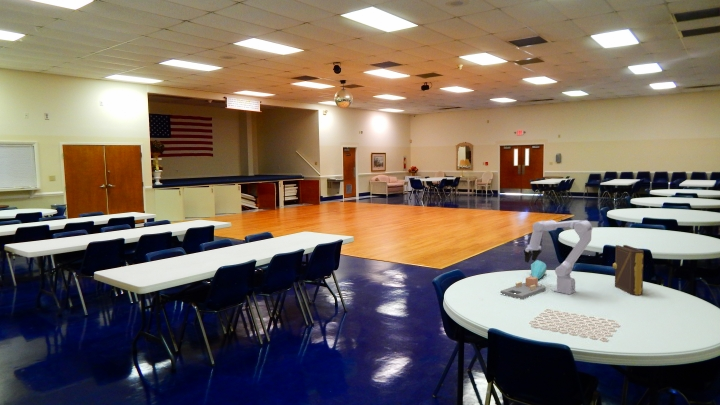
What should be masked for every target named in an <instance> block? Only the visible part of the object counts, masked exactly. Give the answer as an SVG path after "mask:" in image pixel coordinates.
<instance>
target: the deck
mask: <svg viewBox="0 0 720 405" xmlns="http://www.w3.org/2000/svg"><path fill="white" fill-rule="evenodd" d="M546 290H547V287H546V286H541V285H538V286H537V287H536V285H531V286H530V287H527V286H526V282H523V281H518V282H515V285H514V286H511V287H508V288H504V289H502V290H500V293H502V294H505V295H504V296H506V295H509V296H508V297H510V296H512V297H511V298H514V297H516V298H515V299H518V298H520V299H519V300H524V298H525V299H527V298H530V297H532V295H533V296H535V295H537V294H541V293H543V292H545V291H546ZM514 293H516V294H514ZM529 296H530V297H529ZM526 297H527V298H526Z"/></svg>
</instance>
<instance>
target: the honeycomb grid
mask: <svg viewBox="0 0 720 405" xmlns="http://www.w3.org/2000/svg"><path fill="white" fill-rule="evenodd" d="M533 319H534V320H529V324H530V327H532V328H534V329H540V330H544V331H545V330H546V331H550V332H553V333H554V332H555V333H556V332H559V333H561V334H569V335H571V336H579V337H581V338H589V339H591V340H594V341H595V340H599V341H601V342H604V343H606V342H607V343H608V342H609V341H610V337H613V335H614V334H613V332H615V333H616V332H617V328H620V326H621V323H619V322H618V321H616V320H614V319H606V318H604V317H596V316H591V315H590V316H588V315H585V314H578V313H570V312H568V311H560V310H558V309H557V310H553V309H552V308H545V309H544V312H540V313H539V316H536V315H535V317H533ZM607 337H609V338H607Z"/></svg>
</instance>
